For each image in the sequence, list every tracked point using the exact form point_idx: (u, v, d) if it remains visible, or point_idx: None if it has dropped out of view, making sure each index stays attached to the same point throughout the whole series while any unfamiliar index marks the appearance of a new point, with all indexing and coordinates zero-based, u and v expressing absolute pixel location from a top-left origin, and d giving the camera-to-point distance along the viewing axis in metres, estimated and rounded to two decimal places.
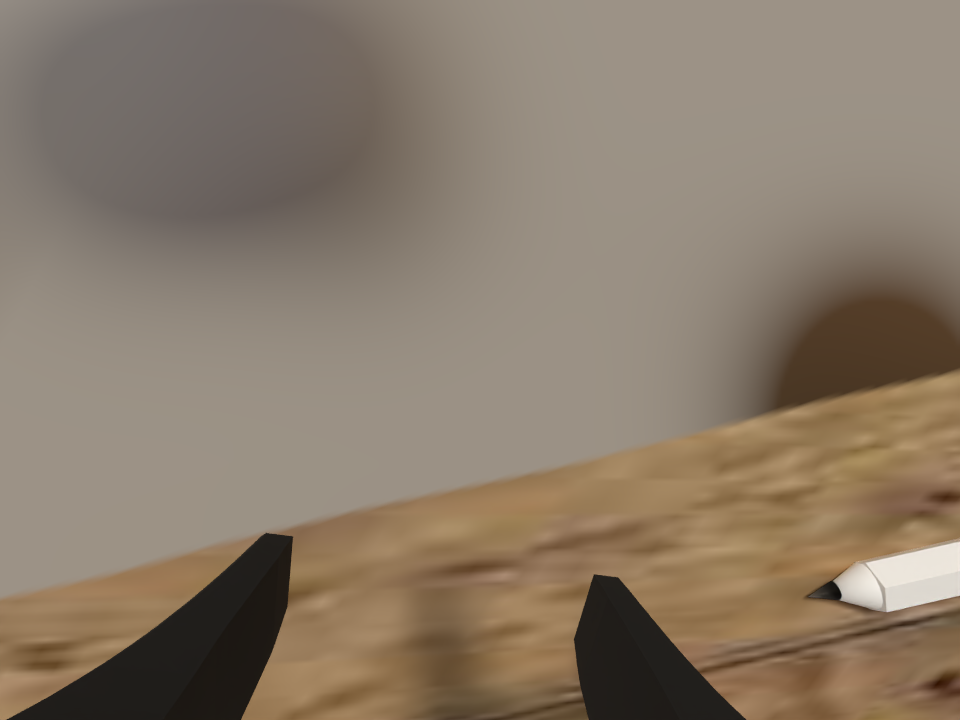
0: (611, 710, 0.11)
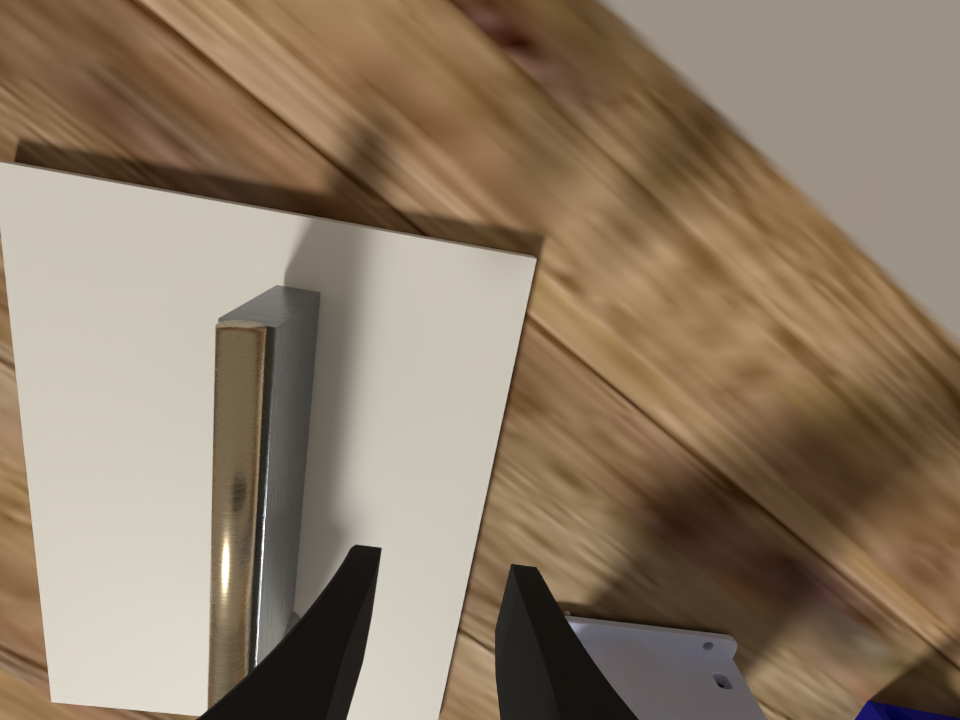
0: (514, 700, 0.10)
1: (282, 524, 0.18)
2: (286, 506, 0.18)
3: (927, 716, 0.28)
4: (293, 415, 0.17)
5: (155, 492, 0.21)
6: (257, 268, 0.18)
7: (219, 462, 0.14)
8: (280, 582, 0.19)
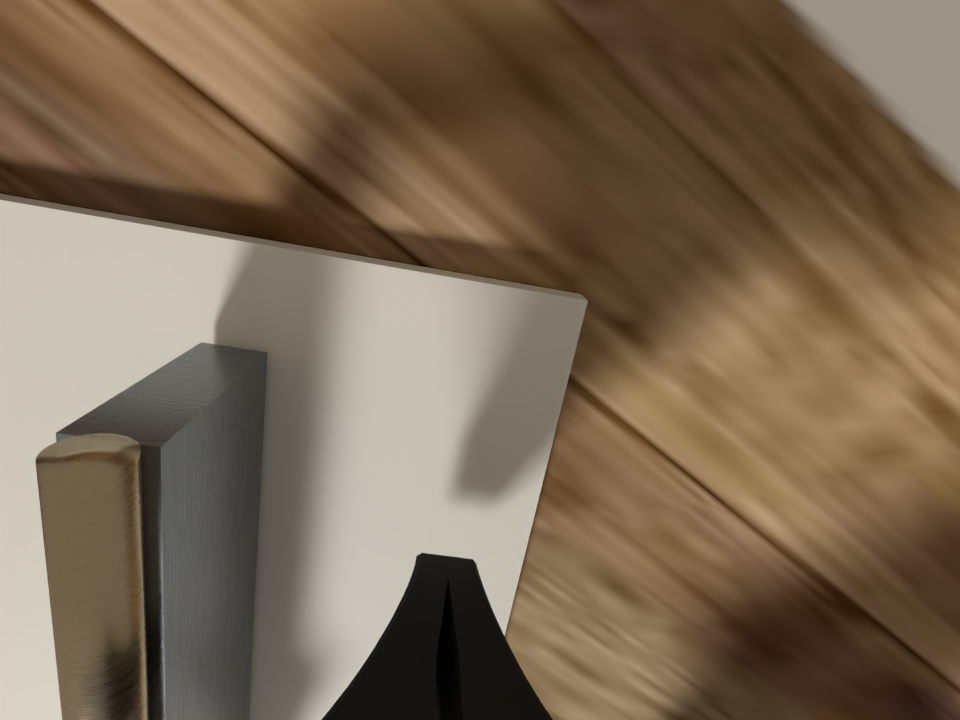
0: (439, 692, 0.10)
1: (210, 699, 0.12)
2: (217, 670, 0.12)
3: None
4: (221, 546, 0.11)
5: (47, 622, 0.15)
6: (173, 316, 0.12)
7: (64, 679, 0.08)
8: None
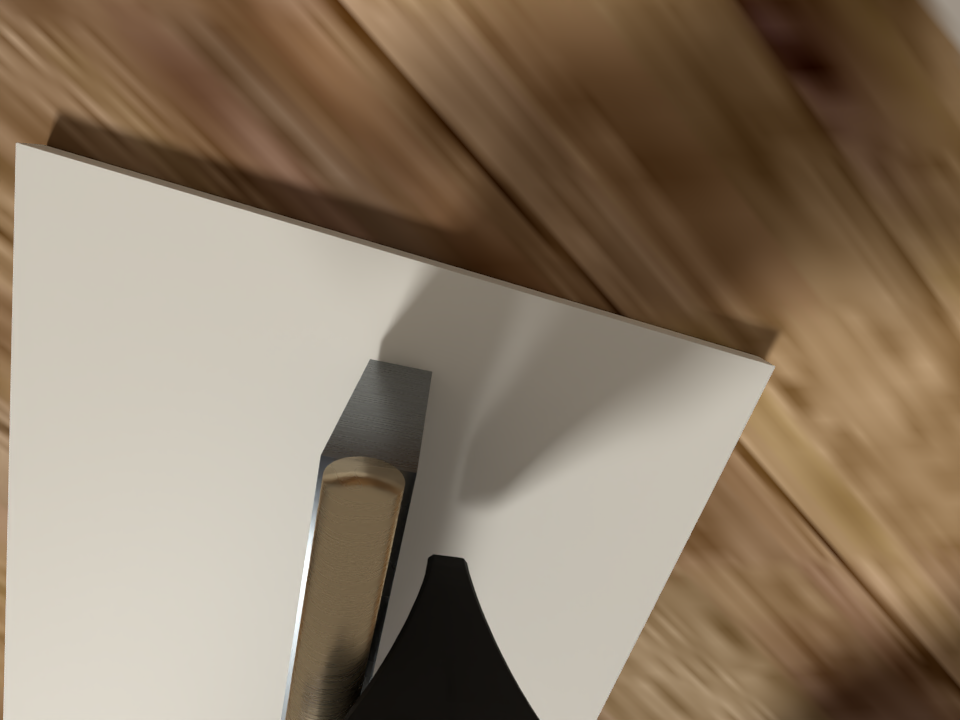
0: None
1: None
2: None
3: None
4: None
5: (185, 616, 0.15)
6: (386, 339, 0.13)
7: (306, 692, 0.08)
8: None
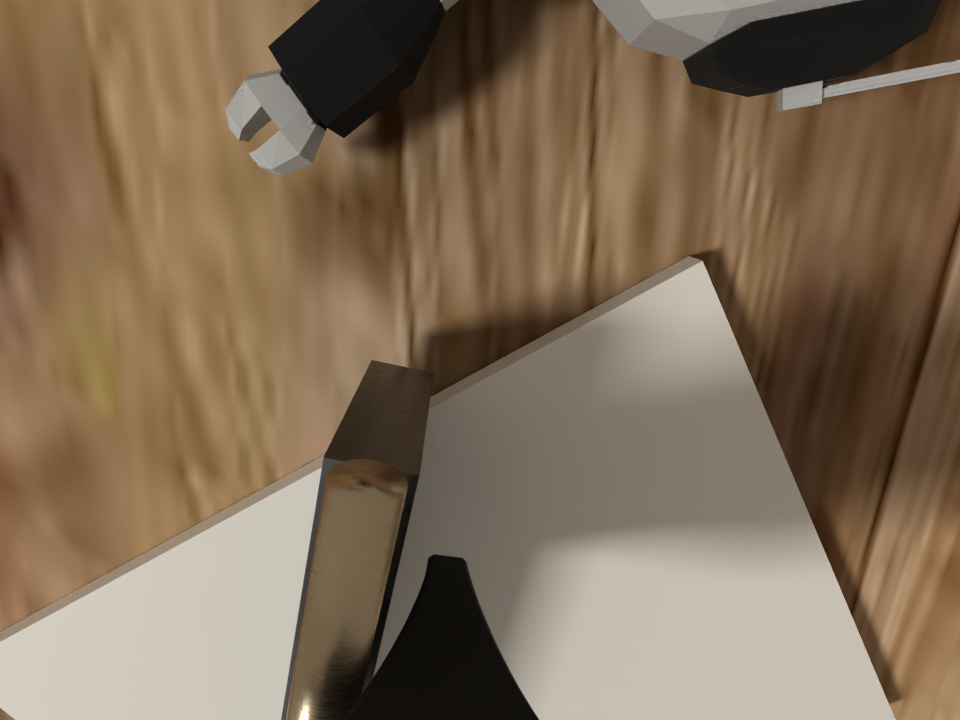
0: None
1: None
2: None
3: None
4: None
5: (391, 608, 0.15)
6: (744, 551, 0.15)
7: (307, 693, 0.08)
8: None
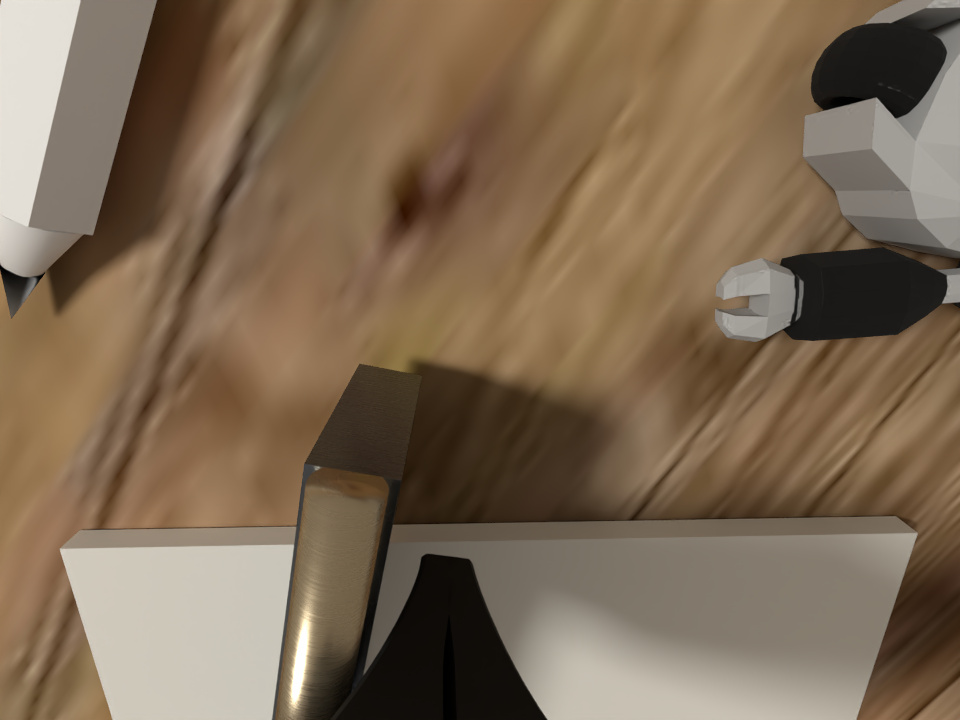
0: None
1: None
2: None
3: None
4: None
5: None
6: None
7: (293, 700, 0.08)
8: None
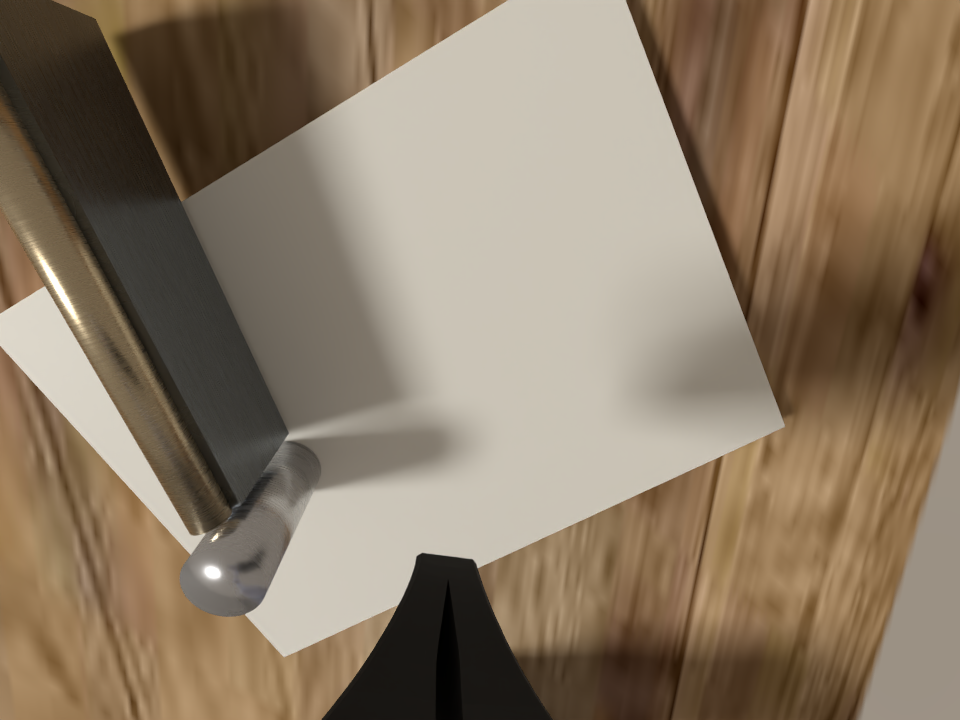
0: (439, 692, 0.10)
1: (172, 289, 0.15)
2: (171, 271, 0.15)
3: None
4: (109, 146, 0.14)
5: (352, 279, 0.18)
6: (647, 235, 0.18)
7: None
8: (219, 371, 0.16)
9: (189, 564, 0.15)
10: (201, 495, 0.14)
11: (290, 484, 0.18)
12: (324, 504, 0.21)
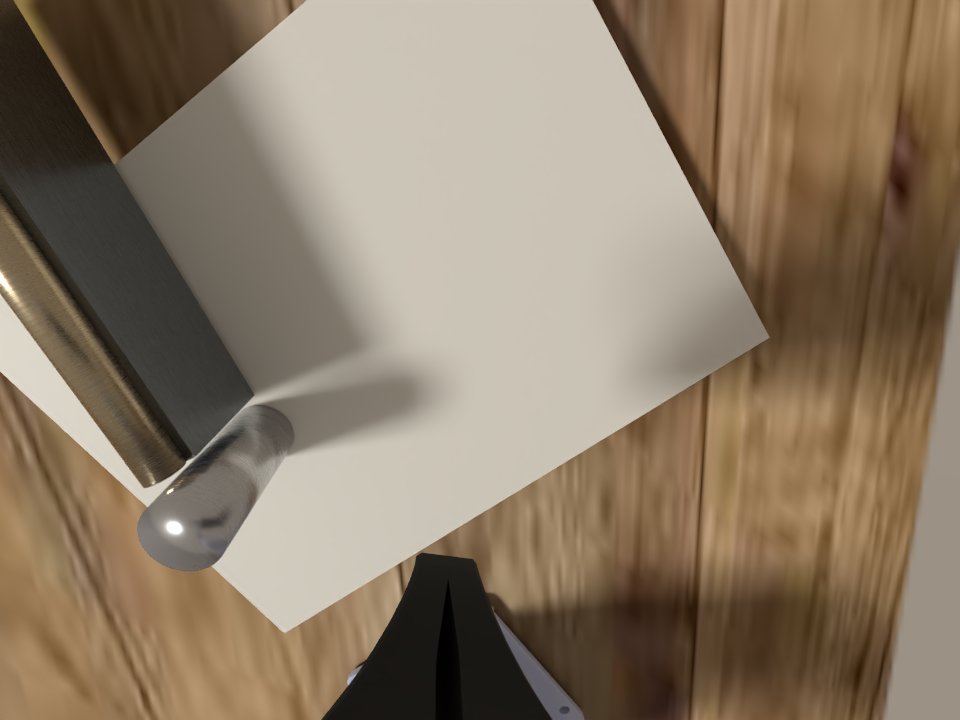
0: (439, 692, 0.10)
1: (104, 243, 0.15)
2: (102, 226, 0.15)
3: None
4: (21, 100, 0.14)
5: (297, 227, 0.18)
6: (595, 145, 0.17)
7: None
8: (164, 326, 0.16)
9: (144, 517, 0.14)
10: (148, 444, 0.14)
11: (255, 441, 0.18)
12: (302, 468, 0.21)
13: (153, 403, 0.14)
